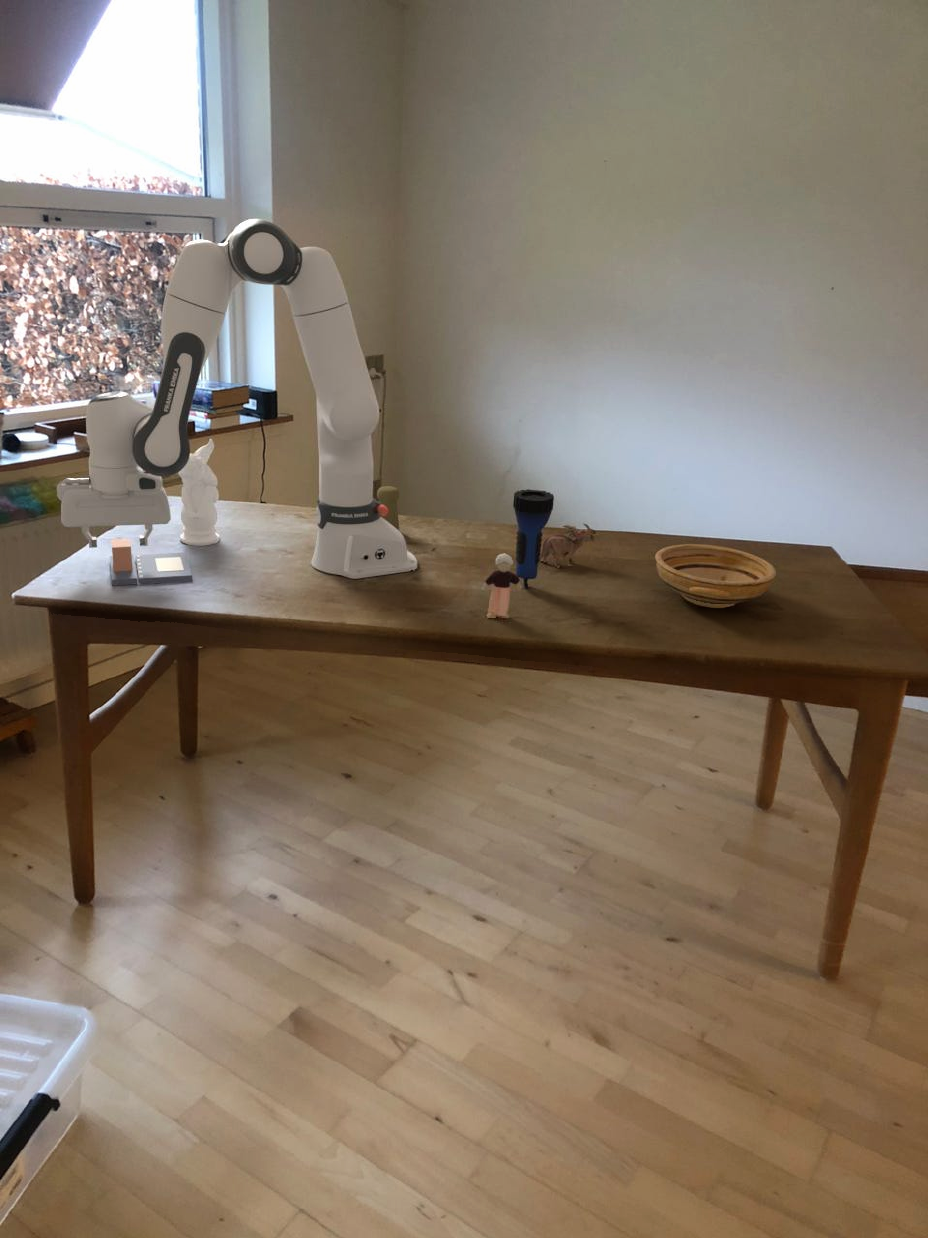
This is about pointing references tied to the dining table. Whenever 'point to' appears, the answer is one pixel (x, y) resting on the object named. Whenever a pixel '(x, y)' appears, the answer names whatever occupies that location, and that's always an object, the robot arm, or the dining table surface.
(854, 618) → the dining table surface
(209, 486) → the white tall statuette
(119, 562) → the stub
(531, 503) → the flashlight
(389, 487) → the cork
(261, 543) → the dining table surface
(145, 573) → the grey notebook
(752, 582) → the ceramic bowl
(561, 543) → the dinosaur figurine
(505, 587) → the grandmother figurine
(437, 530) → the dining table surface
